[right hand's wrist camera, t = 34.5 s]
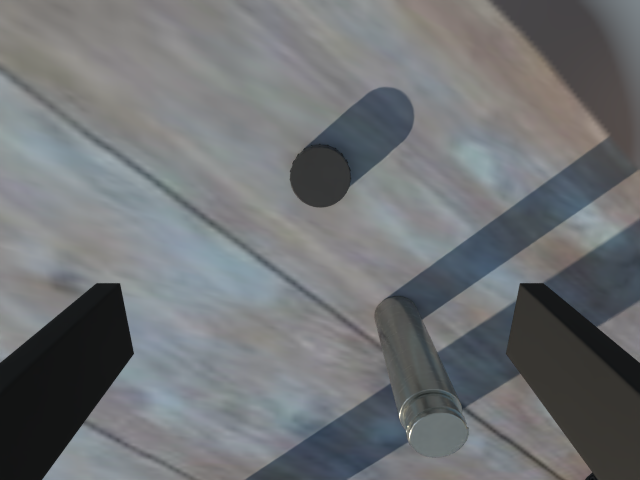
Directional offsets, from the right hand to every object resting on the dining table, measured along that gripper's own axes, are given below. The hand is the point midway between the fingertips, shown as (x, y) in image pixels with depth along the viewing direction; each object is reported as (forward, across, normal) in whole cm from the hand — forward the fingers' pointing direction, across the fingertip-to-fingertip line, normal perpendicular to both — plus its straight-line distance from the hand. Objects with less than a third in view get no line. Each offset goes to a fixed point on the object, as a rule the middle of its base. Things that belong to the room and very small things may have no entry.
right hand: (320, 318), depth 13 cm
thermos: (+28, +9, -16) cm, 33 cm away
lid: (+26, 0, 0) cm, 26 cm away
